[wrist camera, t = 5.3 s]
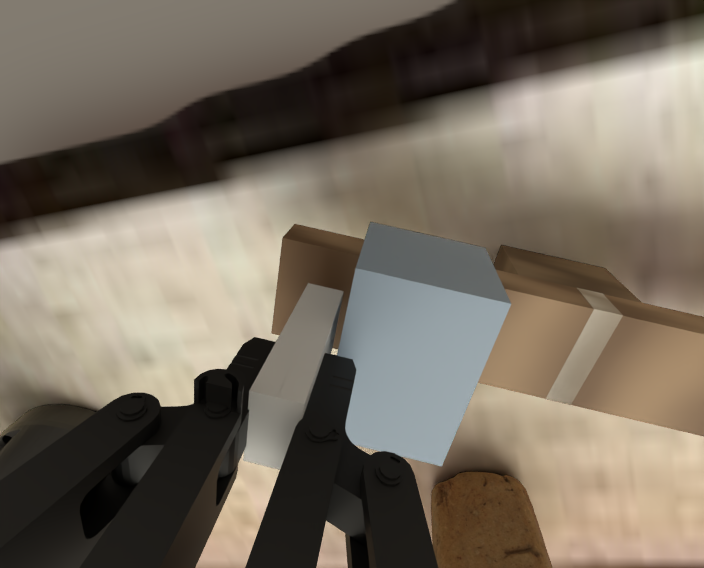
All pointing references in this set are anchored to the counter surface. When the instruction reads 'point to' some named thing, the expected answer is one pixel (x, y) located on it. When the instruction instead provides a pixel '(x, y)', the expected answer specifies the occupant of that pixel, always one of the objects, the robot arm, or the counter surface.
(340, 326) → the beam
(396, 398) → the rider
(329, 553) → the counter surface
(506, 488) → the block
